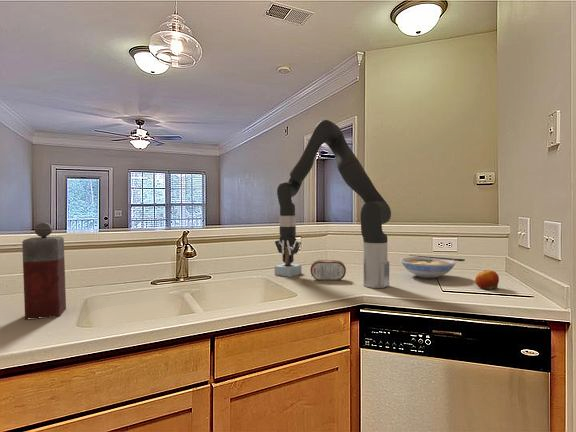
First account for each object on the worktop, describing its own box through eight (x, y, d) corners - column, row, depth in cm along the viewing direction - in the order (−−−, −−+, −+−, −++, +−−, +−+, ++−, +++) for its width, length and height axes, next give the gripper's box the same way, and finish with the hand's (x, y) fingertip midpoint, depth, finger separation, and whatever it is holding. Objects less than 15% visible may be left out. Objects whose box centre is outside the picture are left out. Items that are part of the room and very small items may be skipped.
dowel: (291, 267, 171) (291, 246, 171) (288, 268, 169) (288, 247, 169) (287, 267, 173) (287, 246, 172) (284, 268, 171) (283, 246, 170)
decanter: (67, 306, 121) (64, 221, 120) (60, 316, 110) (57, 222, 109) (35, 309, 117) (32, 222, 116) (24, 319, 107) (21, 223, 106)
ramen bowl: (387, 276, 163) (387, 258, 162) (414, 269, 178) (414, 253, 178) (443, 285, 144) (443, 264, 144) (468, 277, 159) (468, 258, 159)
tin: (345, 279, 158) (345, 260, 158) (346, 281, 155) (346, 261, 154) (310, 279, 159) (310, 259, 159) (310, 280, 156) (310, 261, 156)
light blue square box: (301, 273, 172) (301, 264, 172) (290, 276, 165) (290, 267, 165) (285, 271, 177) (285, 263, 177) (274, 274, 170) (274, 266, 170)
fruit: (497, 288, 132) (486, 268, 135) (478, 296, 138) (468, 276, 141) (508, 285, 136) (497, 265, 140) (490, 293, 142) (479, 273, 145)
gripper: (304, 225, 169) (305, 262, 170) (280, 224, 177) (280, 260, 178) (295, 226, 163) (296, 265, 164) (270, 225, 171) (271, 262, 172)
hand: (287, 262), depth 171 cm, fingers closed on dowel, 2 cm apart
